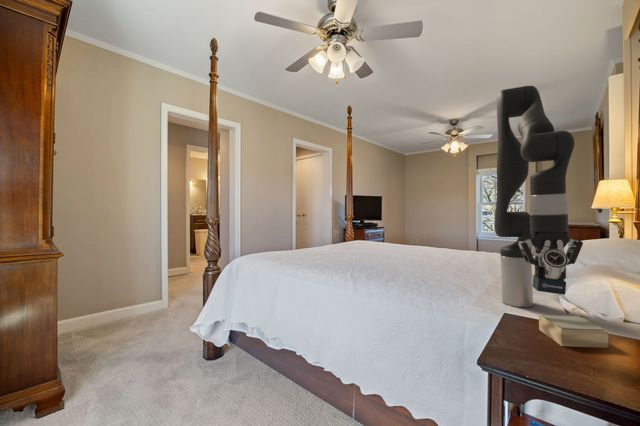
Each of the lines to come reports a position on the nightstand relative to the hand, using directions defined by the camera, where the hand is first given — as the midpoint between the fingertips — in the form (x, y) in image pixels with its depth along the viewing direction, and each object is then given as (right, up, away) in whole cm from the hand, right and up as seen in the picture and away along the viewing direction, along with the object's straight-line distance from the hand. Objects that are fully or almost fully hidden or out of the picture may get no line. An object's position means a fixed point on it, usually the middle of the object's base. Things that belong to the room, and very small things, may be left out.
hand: (550, 280), depth 73 cm
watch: (0, -3, 0) cm, 3 cm away
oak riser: (+8, -16, +3) cm, 18 cm away
